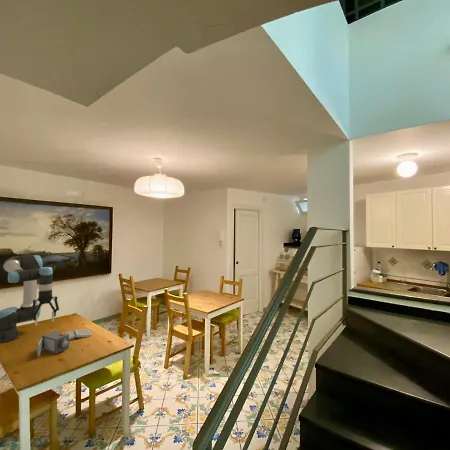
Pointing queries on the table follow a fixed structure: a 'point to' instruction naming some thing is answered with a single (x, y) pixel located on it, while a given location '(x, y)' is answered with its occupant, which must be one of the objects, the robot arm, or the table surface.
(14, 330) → the robot arm
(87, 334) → the gadget
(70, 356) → the table surface
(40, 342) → the door
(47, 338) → the cam body
